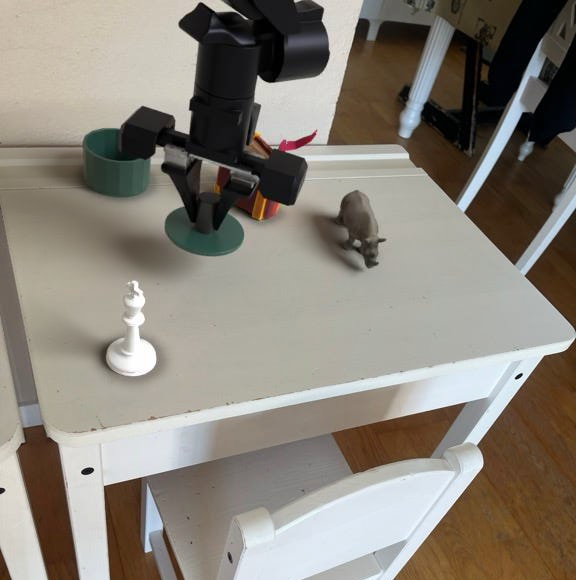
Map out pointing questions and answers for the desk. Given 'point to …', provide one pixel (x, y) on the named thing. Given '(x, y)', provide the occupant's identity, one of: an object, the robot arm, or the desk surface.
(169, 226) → the pot lid
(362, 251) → the rhino figurine
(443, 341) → the desk surface
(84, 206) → the desk surface
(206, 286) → the desk surface
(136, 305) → the chess piece
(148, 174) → the pot
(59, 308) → the desk surface
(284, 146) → the book monster
